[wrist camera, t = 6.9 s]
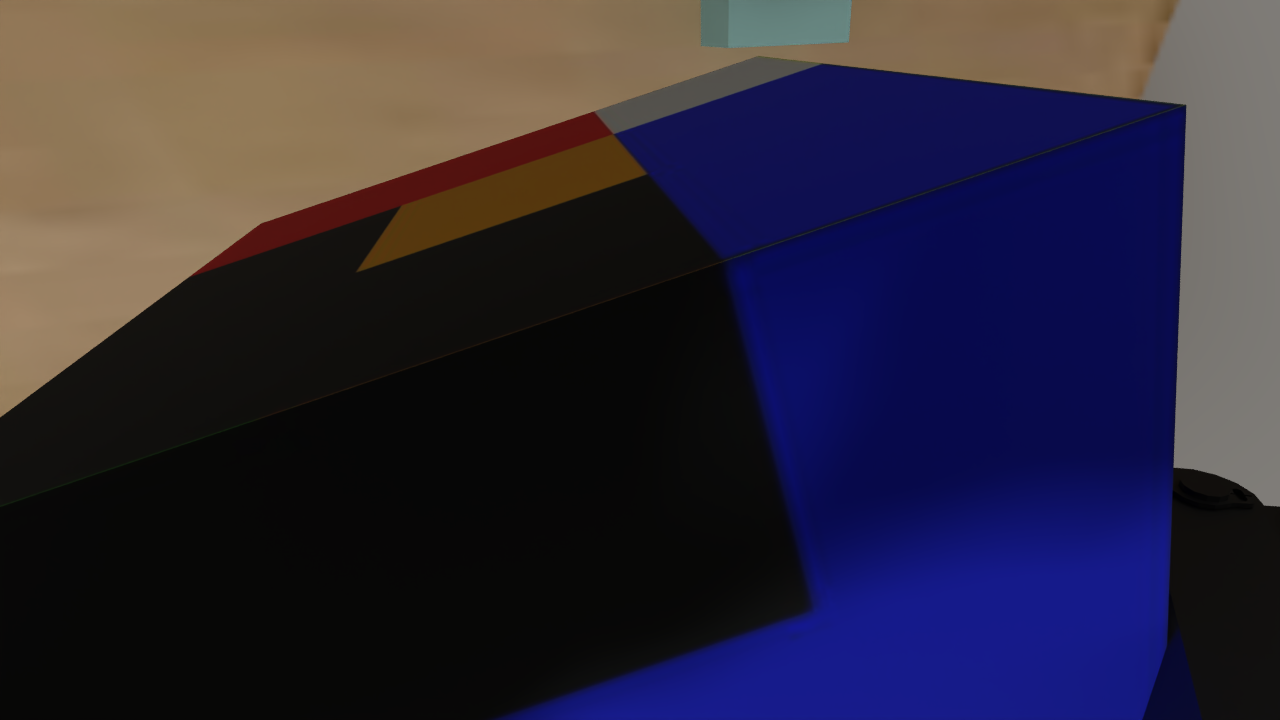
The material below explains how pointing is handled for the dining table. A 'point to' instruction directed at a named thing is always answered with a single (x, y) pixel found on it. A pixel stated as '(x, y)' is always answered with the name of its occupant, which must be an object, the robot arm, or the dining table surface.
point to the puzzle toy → (639, 429)
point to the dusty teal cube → (774, 22)
